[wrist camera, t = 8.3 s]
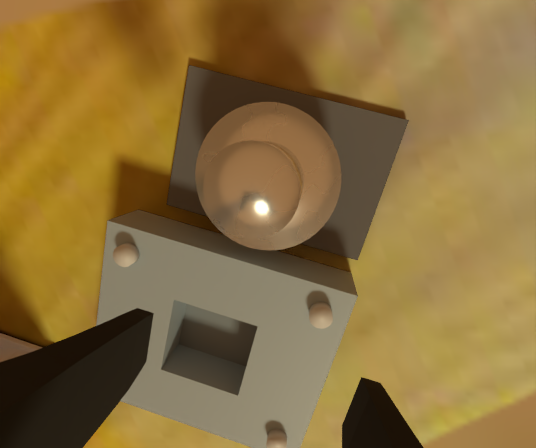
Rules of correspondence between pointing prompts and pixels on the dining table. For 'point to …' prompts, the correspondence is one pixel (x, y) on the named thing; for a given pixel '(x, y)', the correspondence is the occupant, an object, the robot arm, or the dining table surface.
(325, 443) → the dining table surface
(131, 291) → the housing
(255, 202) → the end cap
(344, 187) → the mat
